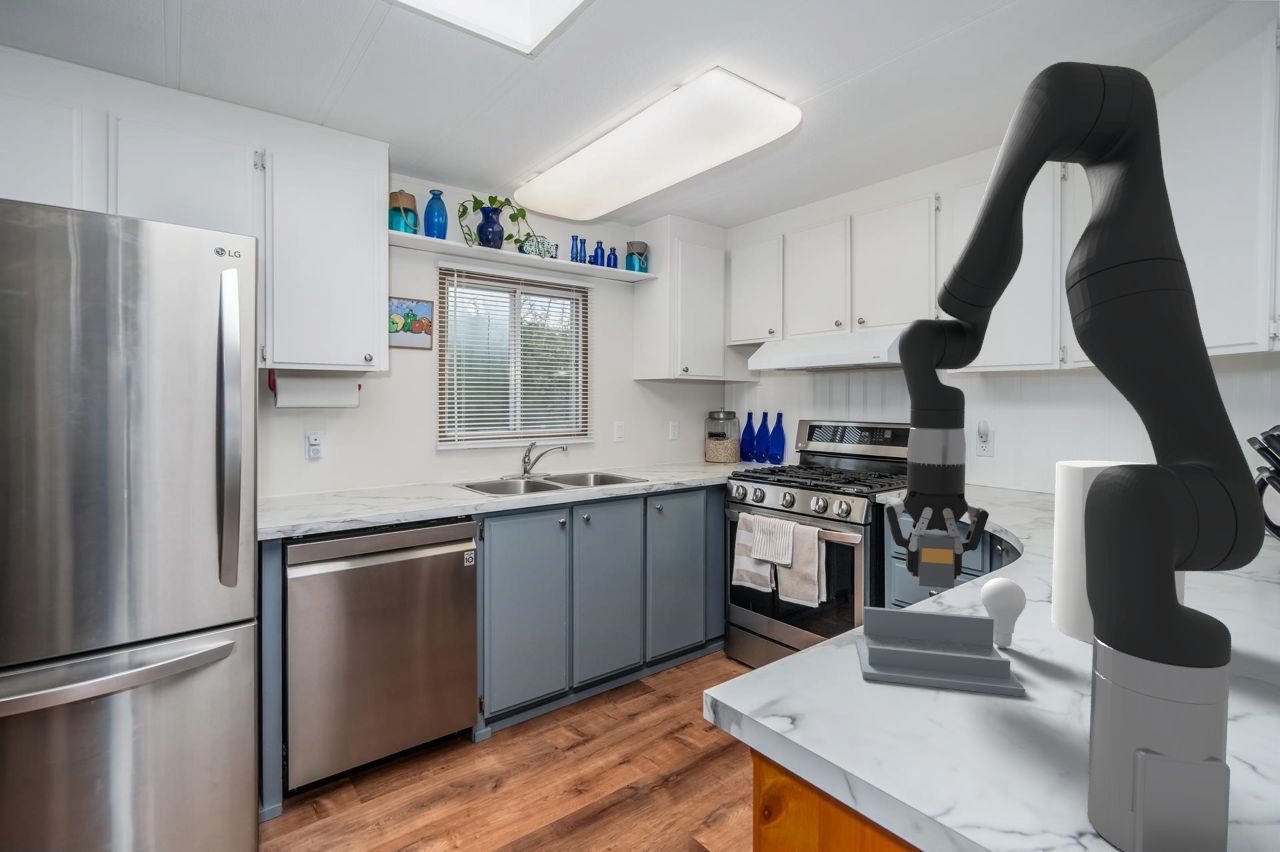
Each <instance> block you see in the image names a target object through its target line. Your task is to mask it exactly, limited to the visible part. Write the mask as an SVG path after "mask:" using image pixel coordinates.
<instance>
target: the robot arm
mask: <svg viewBox="0 0 1280 852" xmlns="http://www.w3.org/2000/svg"><path fill="white" fill-rule="evenodd" d="M1157 109H1158V108H1157V103H1156V97H1155V93H1154V89H1153V87H1152V85H1151V83H1150V81H1149V79H1148V77H1147V76H1145V74H1143V73H1142V72H1141V71H1139V70H1137V69H1134V68H1131V67H1126V66H1119V65H1107V64H1097V63H1090V62H1078V61H1059V62H1056V63H1054V64H1051V65H1049V66H1047V67H1046V68H1044V69H1043V70H1042V71H1041V72H1039V73H1038V74H1037V75H1036V76H1035V78H1033V80H1031V82H1030V83H1029V85H1028V86H1027V88H1026V89H1025V91H1024V92H1023V94H1022V96H1021V98H1020V100H1019V102H1018V104H1017V106H1016V108H1015V110H1014V112H1013V115H1012V116H1011V119H1010V122H1009V124H1008V127H1007V129H1006V132H1005V135H1004V138H1003V141H1002V144H1001V145H1000V148H999V152H998V154H997V157H996V160H995V161H994V165H993V167H992V170H991V173H990V175H989V179H988V182H987V184H986V187H985V191H984V194H983V196H982V199H981V201H980V204H979V207H978V209H977V213H976V215H975V219H974V221H973V224H972V227H971V229H970V231H969V232H968V236H967V238H966V240H965V242H964V243H963V245H962V247H961V250H960V251H959V253H958V254H957V257H956V259H955V261H954V262H953V264H952V266H951V268H950V269H949V271H948V273H947V275H946V277H945V279H944V280H943V283H942V284H941V287H940V288H939V291H938V292H937V297H936V299H937V305H938V307H939V309H940V310H942V312H944V313H945V314H946V315H948V316H949V317H952V318H951V319H930V318H929V319H927V318H926V319H925V318H924V319H923V318H922V319H914V320H912V321H910V322H909V323H907V325H905V327H904V328H903V330H902V332H901V334H900V335H899V336H900V337H899V339H898V356H899V360H900V364H901V367H902V371H903V373H904V374H903V375H904V378H905V383H906V386H907V391H908V394H909V399H910V409H909V410H910V416H909V418H910V423H909V424H910V425H909V435H908V441H907V451H906V457H907V467H906V468H907V469H906V470H907V471H906V473H907V474H906V495H905V497H904V499H903V500H902V502H898V503H894V504H891V503H886V504H884V506H883V509H884V513H885V517H886V519H887V522H888V526H889V530H890V533H891V536H892V537H891V538H892V539H893V542H894V543H895V545H896V546H898V547H901V548H904V549H905V550H906V552H905V567H906V571H908V573H910V575H911V576H912V577H913V578H914V577H917V576H918V551H917V548H918V544H919V536H923V535H924V532H925V530H927V531H934V530H937V531H945V533H946V534H947V535H948V536H949V537H950V538H954V539H955V563H954V581H955V580H957V577H960V576H961V575H962V571H963V569H962V567H963V554H964V553H966V552H969V551H972V552H973V551H974V552H975V551H977V550H978V547H979V544H980V542H981V539H982V536H983V534H984V530H985V528H986V525H987V521H988V519H989V516H990V514H989V512H988V511H987V510H986V509H984V508H982V507H975V506H972V505H969V504H968V502H967V500H966V496H965V491H966V460H967V459H966V458H967V454H966V453H967V451H966V450H967V447H966V445H967V444H966V434H965V417H966V416H965V415H966V414H965V412H966V411H965V410H966V408H965V406H966V398H965V394H964V392H963V390H962V389H960V388H958V387H955V386H951V385H948V384H947V385H946V384H944V383H942V382H941V380H940V378H939V375H938V374H937V370H960V369H963V368H964V369H965V368H966V367H967V366H969V365H970V364H972V363H973V362H974V361H976V359H977V358H978V356H979V354H980V353H981V351H982V348H983V344H984V341H985V336H986V333H987V329H988V326H989V323H990V320H991V315H992V313H993V310H994V308H995V306H996V305H997V303H998V302H999V300H1000V299H1001V297H1002V295H1003V294H1004V292H1005V291H1006V289H1007V287H1008V286H1009V284H1010V283H1011V281H1012V279H1013V278H1014V277H1015V274H1016V272H1017V271H1018V269H1019V266H1020V263H1021V261H1022V260H1021V259H1022V257H1023V248H1024V229H1023V226H1024V225H1023V223H1024V221H1023V219H1024V218H1023V217H1024V215H1023V214H1024V204H1025V201H1026V197H1027V194H1028V192H1029V189H1030V187H1031V185H1032V183H1033V182H1034V180H1035V178H1036V177H1037V175H1038V173H1039V172H1040V171H1041V169H1042V168H1043V167H1044V165H1045V164H1046V162H1054V163H1055V162H1057V163H1064V164H1065V163H1067V164H1079V165H1080V166H1081V167H1082V169H1083V170H1084V172H1085V175H1086V178H1087V180H1088V185H1089V190H1090V198H1091V207H1092V208H1091V213H1090V218H1089V221H1088V222H1087V224H1086V226H1085V229H1084V230H1083V232H1082V235H1081V236H1080V238H1079V239H1078V242H1077V244H1076V246H1075V248H1074V250H1073V252H1072V254H1071V256H1070V259H1069V260H1068V264H1067V266H1066V270H1065V280H1064V281H1065V282H1064V283H1065V285H1064V286H1065V294H1066V298H1067V304H1068V309H1069V314H1070V319H1071V324H1072V329H1073V334H1074V336H1075V338H1076V341H1077V343H1078V345H1079V347H1080V348H1081V350H1082V351H1083V353H1084V354H1085V356H1086V357H1087V359H1088V360H1090V362H1091V363H1092V364H1093V365H1094V367H1096V368H1097V370H1098V371H1099V372H1100V373H1101V374H1102V375H1103V376H1104V377H1105V379H1107V381H1109V383H1110V384H1112V386H1113V387H1114V388H1115V389H1116V390H1117V391H1118V392H1119V393H1120V394H1121V395H1122V396H1123V398H1125V400H1126V401H1127V402H1128V403H1129V404H1130V405H1131V406H1132V408H1133V409H1134V410H1135V412H1136V413H1137V416H1138V417H1139V419H1140V420H1141V422H1142V423H1143V426H1144V428H1145V431H1146V432H1147V435H1148V437H1149V441H1150V443H1151V447H1152V450H1153V453H1154V457H1155V461H1156V464H1155V463H1150V464H1127V465H1117V466H1112V467H1109V468H1107V469H1105V470H1103V471H1102V472H1101V473H1099V474H1098V475H1097V476H1096V478H1095V479H1094V481H1093V482H1092V484H1091V486H1090V489H1089V491H1088V494H1087V499H1086V504H1085V515H1084V530H1085V555H1086V590H1087V597H1088V601H1089V605H1090V608H1091V612H1092V615H1093V626H1094V627H1093V644H1092V659H1091V660H1092V661H1091V662H1092V664H1091V685H1090V713H1089V714H1090V716H1089V718H1090V719H1089V721H1090V722H1089V747H1088V750H1089V751H1088V770H1087V771H1088V784H1087V786H1088V787H1087V813H1086V814H1087V817H1088V820H1089V823H1090V824H1091V826H1092V827H1093V829H1094V830H1095V831H1096V832H1097V833H1098V834H1099V835H1100V836H1101V837H1102V838H1103V839H1105V840H1107V842H1109V843H1110V844H1111V845H1113V846H1114V847H1116V848H1118V849H1120V850H1121V851H1122V852H1227V851H1228V832H1229V813H1230V811H1229V810H1230V809H1229V807H1230V788H1231V787H1230V785H1231V784H1230V783H1231V767H1230V766H1229V765H1228V763H1227V743H1228V721H1229V720H1228V718H1229V717H1228V715H1229V696H1230V677H1231V673H1230V672H1231V660H1232V635H1231V631H1230V630H1229V628H1228V627H1227V625H1225V623H1224V622H1222V621H1220V620H1219V619H1218V618H1216V617H1214V616H1212V615H1210V614H1208V613H1205V612H1202V611H1200V610H1197V609H1194V608H1191V607H1190V606H1189V607H1188V606H1186V605H1184V606H1183V605H1181V604H1180V603H1179V602H1178V599H1177V593H1176V584H1175V571H1185V572H1228V571H1235V570H1238V569H1242V568H1245V567H1246V566H1247V565H1249V564H1251V563H1252V562H1253V561H1254V560H1255V559H1256V558H1258V556H1259V554H1260V552H1261V549H1262V547H1263V545H1264V542H1265V536H1266V519H1265V512H1264V511H1265V510H1264V506H1263V501H1262V499H1261V496H1260V495H1261V494H1260V492H1259V489H1258V487H1257V483H1256V481H1255V478H1254V476H1253V473H1252V471H1251V468H1250V465H1249V464H1248V460H1247V458H1246V456H1245V453H1244V452H1243V449H1242V446H1241V444H1240V440H1239V439H1238V436H1237V434H1236V432H1235V430H1234V427H1233V424H1232V422H1231V419H1230V417H1229V414H1228V412H1227V409H1226V406H1225V404H1224V400H1223V398H1222V396H1221V392H1220V389H1219V386H1218V384H1217V379H1216V376H1215V373H1214V369H1213V366H1212V362H1211V360H1210V357H1209V353H1208V349H1207V346H1206V342H1205V339H1204V335H1203V332H1202V327H1201V323H1200V319H1199V313H1198V309H1197V303H1196V299H1195V298H1196V297H1195V295H1194V290H1193V287H1192V283H1191V278H1190V274H1189V270H1188V267H1187V264H1186V259H1185V257H1184V255H1183V251H1182V249H1181V246H1180V242H1179V238H1178V233H1177V230H1176V225H1175V221H1174V217H1173V213H1172V211H1173V210H1172V207H1171V206H1172V205H1171V202H1170V197H1169V193H1168V189H1167V184H1166V179H1165V175H1164V174H1165V173H1164V165H1163V156H1162V147H1161V145H1162V144H1161V137H1160V128H1159V127H1160V126H1159V118H1158V116H1159V115H1158V110H1157ZM903 511H905V512H907V514H908V516H910V518H911V519H912V522H911V526H910V530H909V533H908V536H907V537H904V536H903V534H902V529H901V525H900V521H899V520H900V519H901V518H902V516H903V514H902V513H903ZM966 513H967V518H968V521H970V524H969V526H968V529H967V532H966V536H965V538H964V539H963V540H961V535H960V533H959V530H958V526H957V524H958V523H959V521H960V520H961V519H962V518H963V517H964V515H965V514H966Z"/></svg>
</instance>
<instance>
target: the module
mask: <svg viewBox="0 0 1280 852" xmlns="http://www.w3.org/2000/svg"><path fill="white" fill-rule="evenodd" d="M917 551H918V576H917V577H913V578H914V580H915V581H916V583H917V585H918V586H919V587H928V588H929V587H930V588H942V589H954V588H955V580H954V563H955V539H954V538H950V537H949V536H948V535H947V534H946V533H945V531H941V530H925V532H924V535H923V536H919V544H918V548H917Z"/></svg>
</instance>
